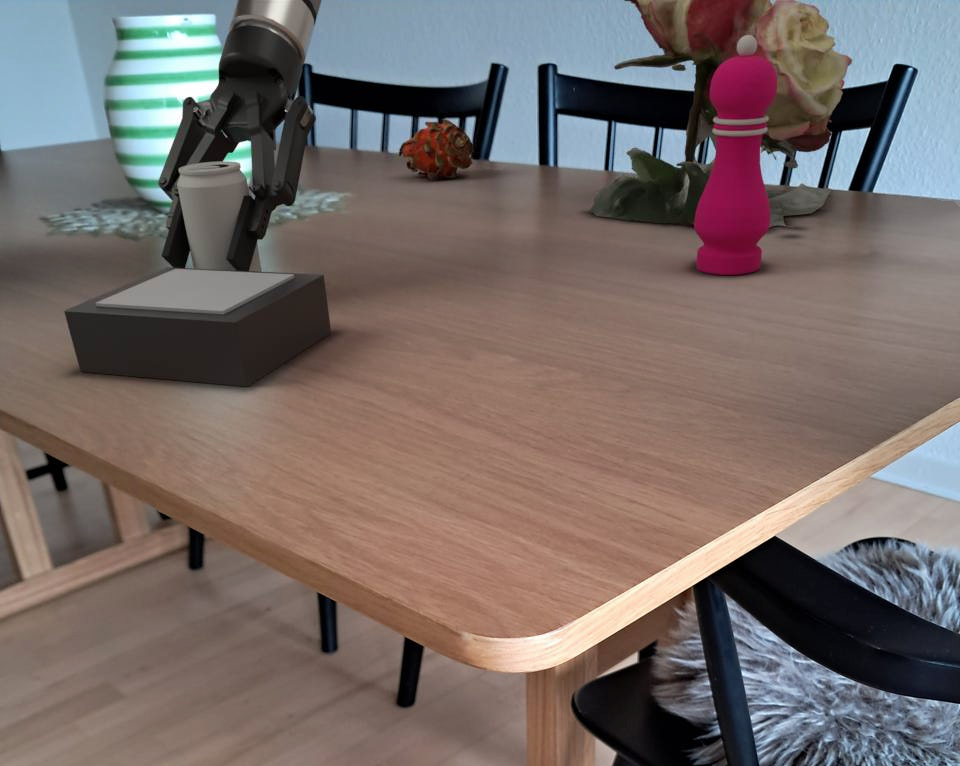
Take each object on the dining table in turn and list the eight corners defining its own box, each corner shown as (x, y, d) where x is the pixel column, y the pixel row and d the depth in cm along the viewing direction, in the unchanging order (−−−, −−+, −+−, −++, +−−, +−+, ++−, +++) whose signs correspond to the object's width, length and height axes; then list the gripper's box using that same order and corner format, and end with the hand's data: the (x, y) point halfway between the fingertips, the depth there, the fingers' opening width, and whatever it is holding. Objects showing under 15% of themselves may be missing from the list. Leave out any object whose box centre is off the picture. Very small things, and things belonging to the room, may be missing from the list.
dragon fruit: (479, 190, 151) (407, 201, 156) (488, 146, 154) (417, 159, 159) (458, 145, 144) (384, 158, 149) (468, 100, 147) (395, 115, 151)
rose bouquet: (797, 238, 110) (838, -104, 93) (571, 216, 125) (571, -81, 108) (879, 196, 126) (927, -101, 110) (671, 181, 141) (684, -81, 125)
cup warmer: (68, 370, 83) (50, 305, 80) (168, 322, 94) (155, 263, 91) (247, 386, 78) (235, 317, 75) (331, 333, 89) (323, 270, 86)
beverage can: (278, 295, 99) (257, 162, 93) (222, 310, 96) (197, 173, 89) (242, 285, 103) (220, 157, 97) (187, 299, 100) (160, 167, 93)
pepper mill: (727, 280, 97) (748, 38, 86) (676, 267, 102) (689, 37, 91) (780, 267, 100) (807, 32, 89) (728, 255, 105) (747, 31, 94)
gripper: (370, 77, 99) (312, 292, 95) (202, 80, 105) (142, 282, 101) (338, 17, 92) (275, 246, 88) (160, 23, 98) (95, 238, 94)
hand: (204, 265), depth 95 cm, fingers closed on beverage can, 6 cm apart
